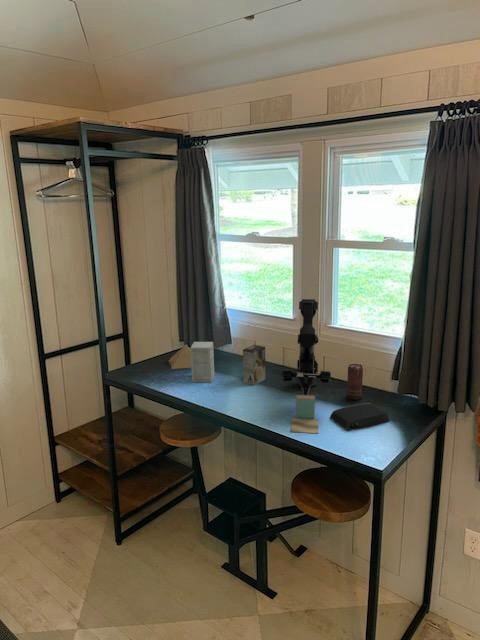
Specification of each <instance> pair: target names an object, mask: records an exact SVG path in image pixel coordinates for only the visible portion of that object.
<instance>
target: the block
mask: <svg viewBox="0 0 480 640" xmlns="http://www.w3.org/2000/svg"><path fill="white" fill-rule="evenodd" d="M295 396H296V400H295V401H296V402H295V403H296V404H295V418H303V419H315V413H316V411H315V410H316V409H315V407H316V396H315V395H309V394H308V395H304V394H296V395H295Z"/></svg>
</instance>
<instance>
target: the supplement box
mask: <svg viewBox="0 0 480 640" xmlns="http://www.w3.org/2000/svg"><path fill="white" fill-rule="evenodd" d="M189 348H190V350H191V368H190V369H191V382H192V383H212V382H213V379H214V378H215V362H214V361H215V357H214V353H215V352H214V342H213V341H193V343H192V344H191V346H190V347H189Z"/></svg>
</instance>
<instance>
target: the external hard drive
mask: <svg viewBox="0 0 480 640" xmlns="http://www.w3.org/2000/svg"><path fill="white" fill-rule="evenodd" d="M329 419H330V420H331V421H332V422H334V423H336V424H337V425H338V426H340V427H341V428H342V429H343V430H344V431H346V432H349V431H358V430H362V429H367V428H370V427H371V428H372V427H374V426H379V425H382V424H386V423H388V422H390V421H391V420H390V417H389V414H388V413H387V412H385V411H384V410H383V409H381V408H380V407H378V406H376V405H374V404H373V403H371V402H368V403H359V404H358V403H357V404H353V405H346V406H344V407H340V408H337V409H335V410H333V411H332V413H330V416H329Z"/></svg>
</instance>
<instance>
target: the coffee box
mask: <svg viewBox="0 0 480 640" xmlns="http://www.w3.org/2000/svg"><path fill="white" fill-rule="evenodd" d="M242 360H243V361H242V362H243V363H242V365H243V366H242V367H243V368H242V370H243V375H242V377H243V383H244V384H249V385H252V386H256V385H258V384H260V383H261V382H263V381H265V380H266V346H263V345H256V344H253V345H250V346H247V347H245V348H243V349H242Z"/></svg>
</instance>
